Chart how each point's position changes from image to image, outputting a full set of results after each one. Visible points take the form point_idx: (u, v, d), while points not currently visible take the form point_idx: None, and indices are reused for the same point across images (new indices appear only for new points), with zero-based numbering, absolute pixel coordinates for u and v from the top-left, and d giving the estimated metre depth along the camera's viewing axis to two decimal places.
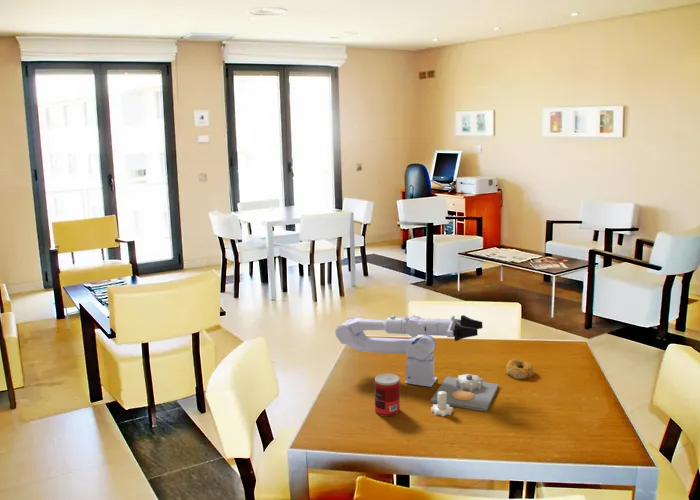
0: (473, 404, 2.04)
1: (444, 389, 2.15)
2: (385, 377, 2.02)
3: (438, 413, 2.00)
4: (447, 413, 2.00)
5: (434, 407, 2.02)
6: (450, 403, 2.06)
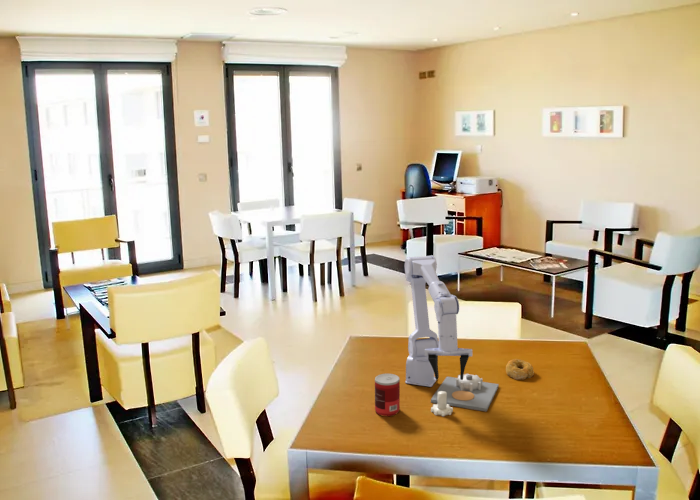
0: (473, 404, 2.04)
1: (444, 389, 2.15)
2: (385, 377, 2.02)
3: (438, 413, 2.00)
4: (447, 413, 2.00)
5: (434, 407, 2.02)
6: (450, 403, 2.06)
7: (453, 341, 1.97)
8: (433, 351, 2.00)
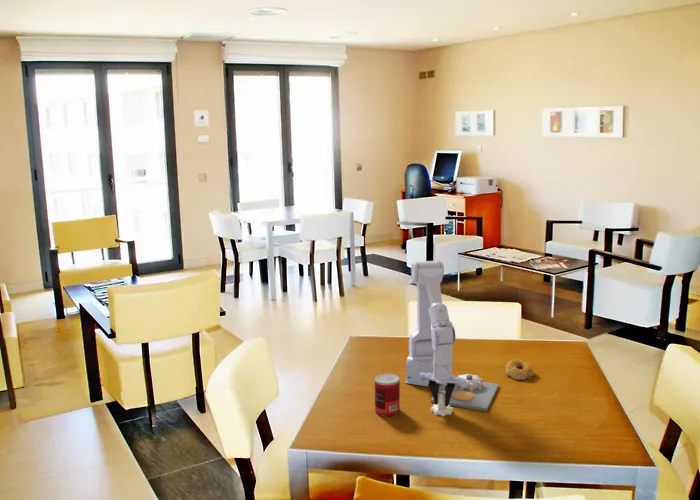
0: (473, 404, 2.04)
1: (444, 389, 2.15)
2: (385, 377, 2.02)
3: (438, 413, 2.00)
4: (447, 413, 2.00)
5: (434, 407, 2.02)
6: (450, 403, 2.06)
7: (446, 370, 1.97)
8: (427, 377, 2.00)
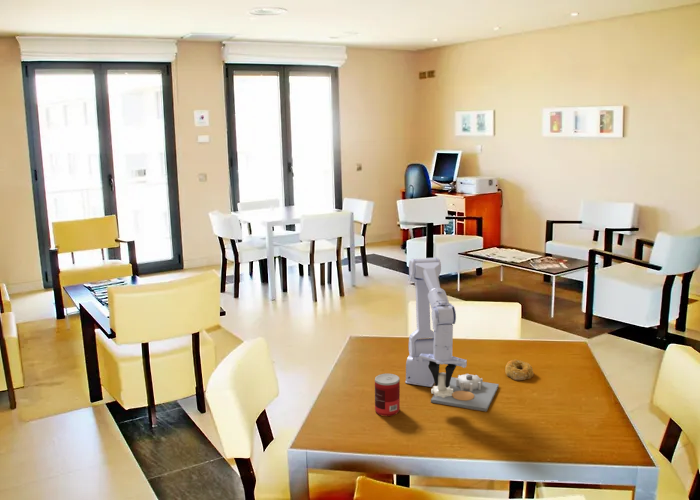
0: (473, 404, 2.04)
1: None
2: (385, 377, 2.02)
3: (438, 394, 1.99)
4: (447, 394, 1.98)
5: (434, 389, 2.01)
6: (450, 403, 2.06)
7: (447, 351, 1.95)
8: (427, 358, 1.99)
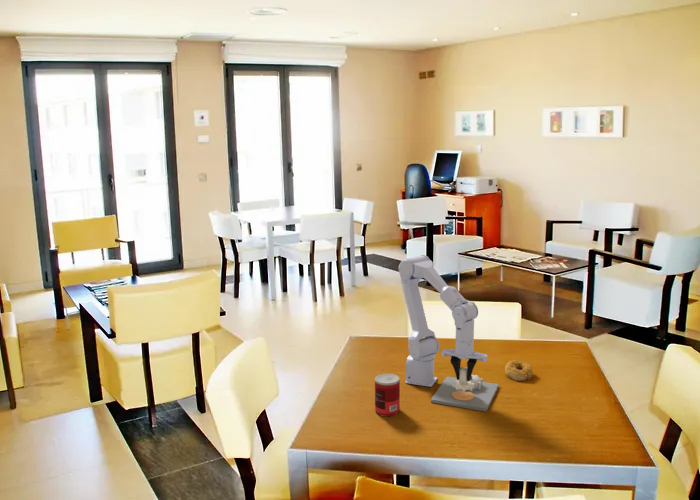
0: (473, 404, 2.04)
1: (444, 389, 2.15)
2: (385, 377, 2.02)
3: (459, 388, 2.08)
4: (468, 388, 2.07)
5: (456, 382, 2.10)
6: (450, 403, 2.06)
7: (468, 346, 2.04)
8: (449, 353, 2.08)
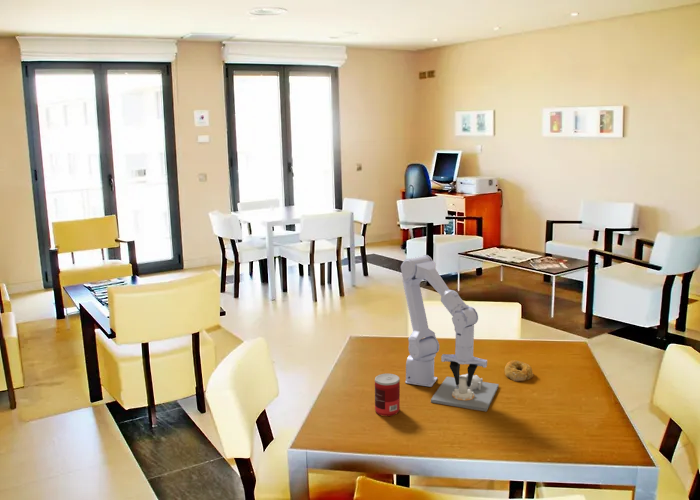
0: (473, 404, 2.04)
1: (444, 389, 2.15)
2: (385, 377, 2.02)
3: (459, 397, 2.08)
4: (468, 397, 2.08)
5: (455, 391, 2.11)
6: (450, 403, 2.06)
7: (468, 351, 2.05)
8: (449, 358, 2.08)
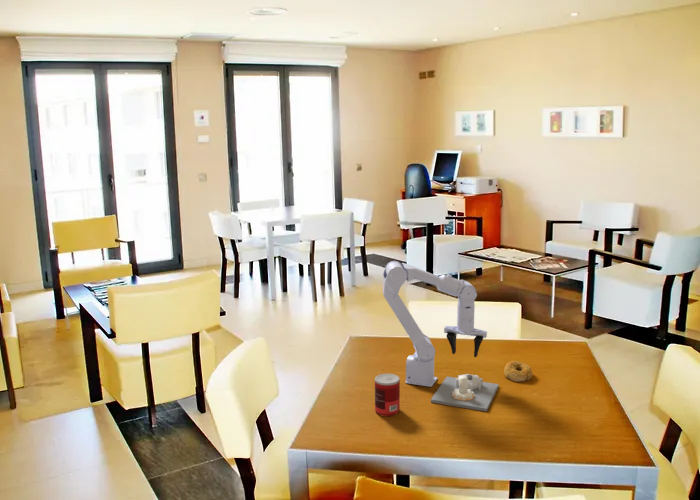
0: (473, 404, 2.04)
1: (444, 389, 2.15)
2: (385, 377, 2.02)
3: (459, 397, 2.08)
4: (468, 397, 2.08)
5: (455, 391, 2.11)
6: (450, 403, 2.06)
7: (469, 323, 2.18)
8: (451, 330, 2.22)
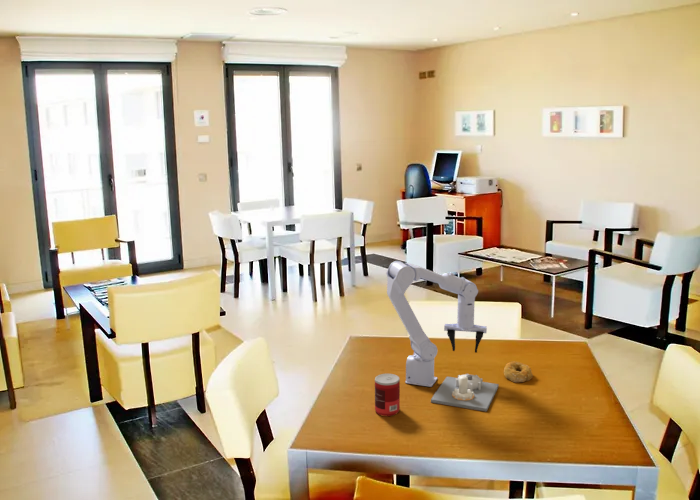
0: (473, 404, 2.04)
1: (444, 389, 2.15)
2: (385, 377, 2.02)
3: (459, 397, 2.08)
4: (468, 397, 2.08)
5: (455, 391, 2.11)
6: (450, 403, 2.06)
7: (470, 319, 2.22)
8: (452, 327, 2.25)
